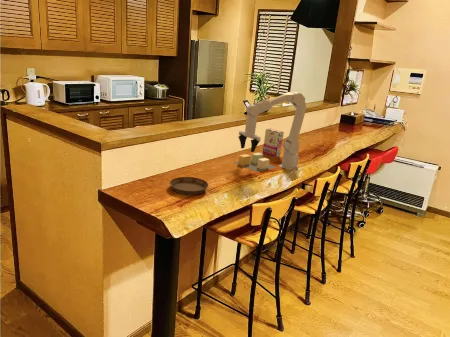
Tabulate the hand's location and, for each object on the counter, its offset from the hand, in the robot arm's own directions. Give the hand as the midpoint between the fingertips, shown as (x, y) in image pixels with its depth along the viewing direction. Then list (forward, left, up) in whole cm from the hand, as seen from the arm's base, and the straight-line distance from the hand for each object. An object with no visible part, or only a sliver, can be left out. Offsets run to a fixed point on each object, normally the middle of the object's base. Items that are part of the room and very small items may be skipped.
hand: (247, 150), depth 210 cm
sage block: (-11, -1, -9) cm, 14 cm away
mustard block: (-1, -2, -9) cm, 9 cm away
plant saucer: (+51, +11, -10) cm, 53 cm away
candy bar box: (-34, -8, -10) cm, 36 cm away
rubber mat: (-6, +2, -10) cm, 12 cm away
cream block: (-6, +8, -9) cm, 13 cm away
